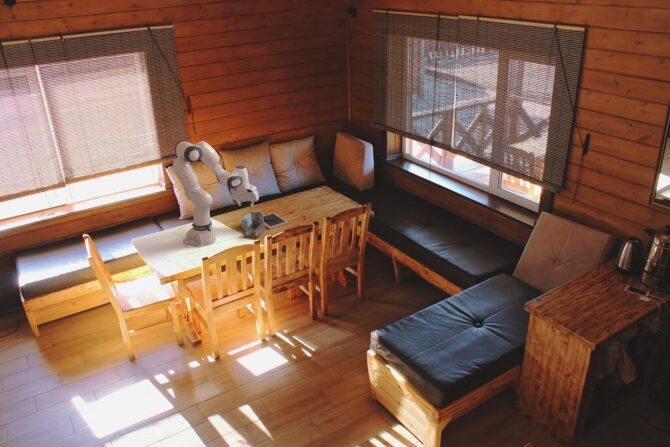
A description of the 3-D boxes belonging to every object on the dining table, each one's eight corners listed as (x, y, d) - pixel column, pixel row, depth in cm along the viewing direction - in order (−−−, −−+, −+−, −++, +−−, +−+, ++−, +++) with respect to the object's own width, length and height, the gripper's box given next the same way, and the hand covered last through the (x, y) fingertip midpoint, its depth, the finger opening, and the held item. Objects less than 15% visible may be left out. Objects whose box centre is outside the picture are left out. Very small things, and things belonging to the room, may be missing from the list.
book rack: (243, 237, 402) (241, 220, 396) (252, 228, 415) (250, 211, 409) (257, 239, 400) (255, 221, 394) (265, 229, 413) (263, 212, 407)
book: (242, 229, 414) (241, 219, 411) (248, 223, 423) (247, 213, 420) (247, 230, 413) (245, 220, 410) (253, 223, 423) (252, 213, 419)
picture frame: (256, 220, 428) (269, 230, 412) (255, 217, 427) (269, 226, 411) (274, 214, 436) (288, 224, 420) (274, 211, 434) (288, 220, 419)
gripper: (228, 188, 405) (230, 206, 411) (254, 190, 400) (257, 208, 406) (231, 185, 411) (234, 202, 417) (258, 187, 405) (260, 204, 411)
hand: (245, 205), depth 411 cm, fingers open, 8 cm apart
